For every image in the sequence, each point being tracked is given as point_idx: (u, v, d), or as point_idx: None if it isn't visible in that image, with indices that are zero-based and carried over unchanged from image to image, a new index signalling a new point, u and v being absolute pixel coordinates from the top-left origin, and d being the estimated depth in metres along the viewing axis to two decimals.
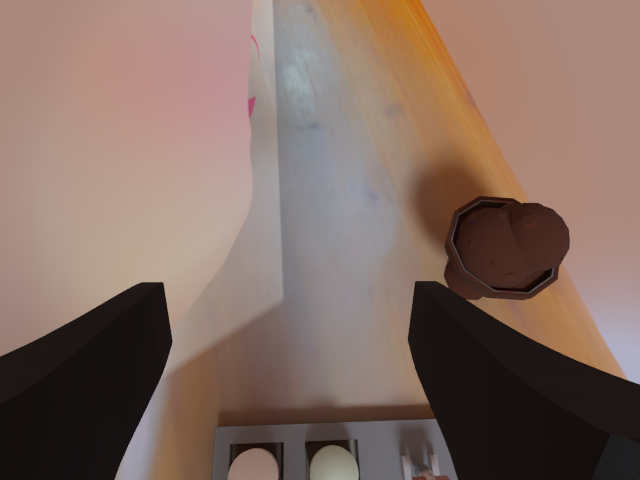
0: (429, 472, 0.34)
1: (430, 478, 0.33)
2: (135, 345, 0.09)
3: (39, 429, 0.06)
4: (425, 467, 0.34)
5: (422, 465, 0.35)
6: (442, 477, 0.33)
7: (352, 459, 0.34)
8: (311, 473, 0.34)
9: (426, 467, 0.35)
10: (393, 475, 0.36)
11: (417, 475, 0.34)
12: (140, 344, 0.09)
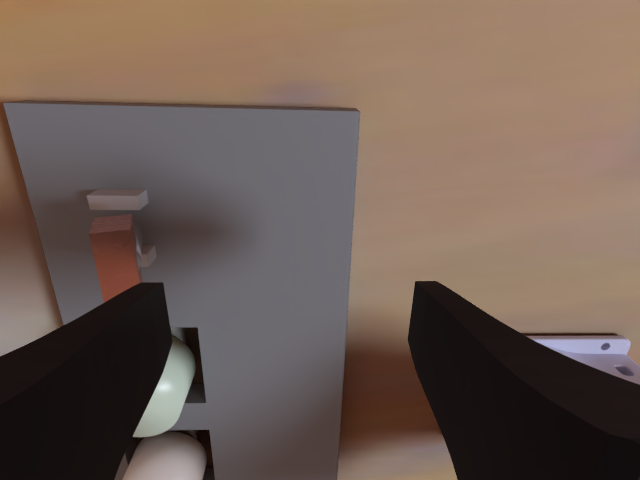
0: None
1: None
2: (135, 346, 0.09)
3: (39, 429, 0.06)
4: None
5: None
6: None
7: None
8: (139, 435, 0.19)
9: None
10: (149, 272, 0.18)
11: None
12: (140, 344, 0.09)
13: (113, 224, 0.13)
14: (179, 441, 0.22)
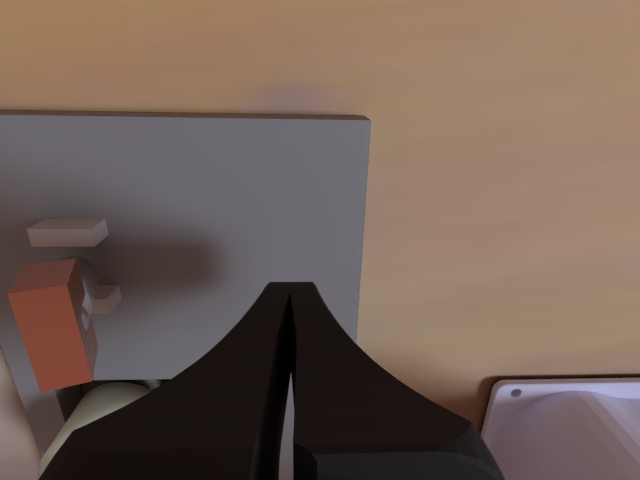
0: None
1: None
2: (285, 343, 0.09)
3: (270, 424, 0.06)
4: None
5: None
6: None
7: None
8: None
9: None
10: (114, 316, 0.15)
11: None
12: (286, 342, 0.10)
13: (46, 276, 0.10)
14: None
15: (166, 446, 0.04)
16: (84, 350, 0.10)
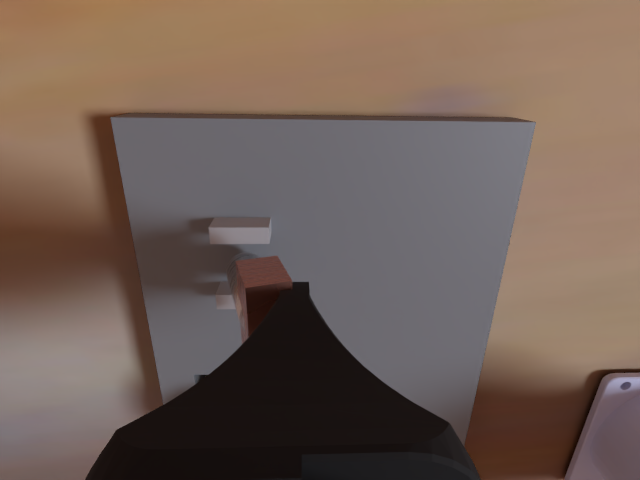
0: (233, 292, 0.12)
1: None
2: None
3: None
4: (230, 283, 0.13)
5: (228, 281, 0.13)
6: (238, 281, 0.11)
7: None
8: None
9: (229, 280, 0.13)
10: None
11: None
12: None
13: (266, 272, 0.10)
14: None
15: (214, 446, 0.04)
16: None
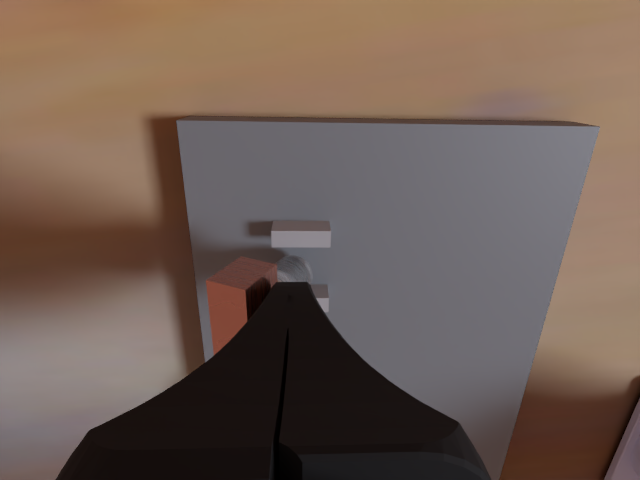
0: None
1: None
2: None
3: None
4: None
5: None
6: None
7: None
8: None
9: None
10: None
11: None
12: None
13: (242, 274, 0.10)
14: None
15: (183, 446, 0.04)
16: None
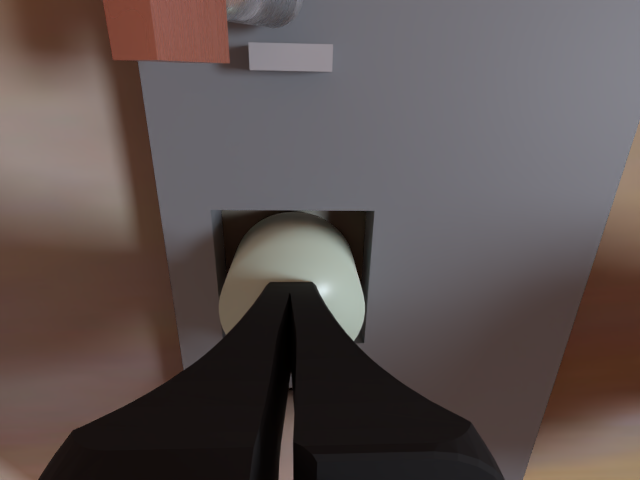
0: None
1: None
2: (285, 344, 0.09)
3: (270, 424, 0.06)
4: None
5: None
6: None
7: (254, 261, 0.11)
8: None
9: None
10: (313, 103, 0.11)
11: (245, 23, 0.08)
12: (286, 342, 0.10)
13: None
14: None
15: (165, 447, 0.04)
16: None
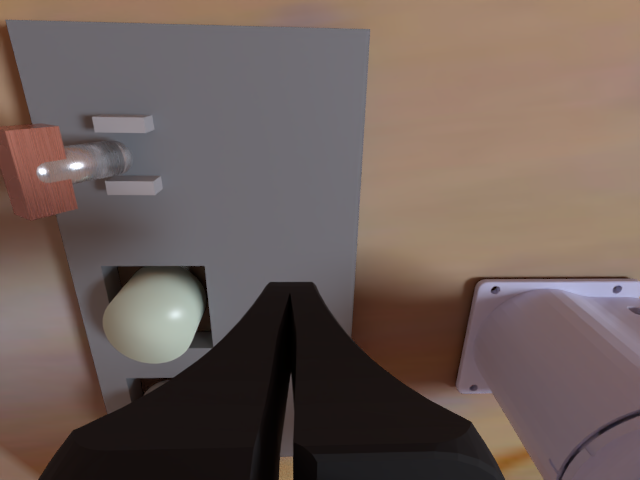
0: None
1: None
2: (285, 344, 0.09)
3: (270, 424, 0.06)
4: None
5: None
6: None
7: (120, 299, 0.18)
8: (152, 361, 0.19)
9: None
10: (155, 205, 0.18)
11: None
12: (286, 342, 0.10)
13: (20, 127, 0.13)
14: None
15: (166, 446, 0.04)
16: (23, 191, 0.13)
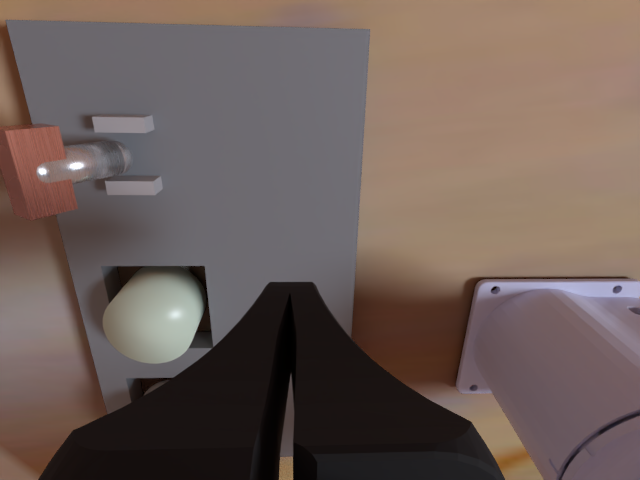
0: None
1: None
2: (285, 344, 0.09)
3: (270, 424, 0.06)
4: None
5: None
6: None
7: (120, 299, 0.18)
8: (152, 361, 0.19)
9: None
10: (155, 205, 0.18)
11: None
12: (286, 342, 0.10)
13: (20, 127, 0.13)
14: None
15: (166, 446, 0.04)
16: (23, 191, 0.13)
